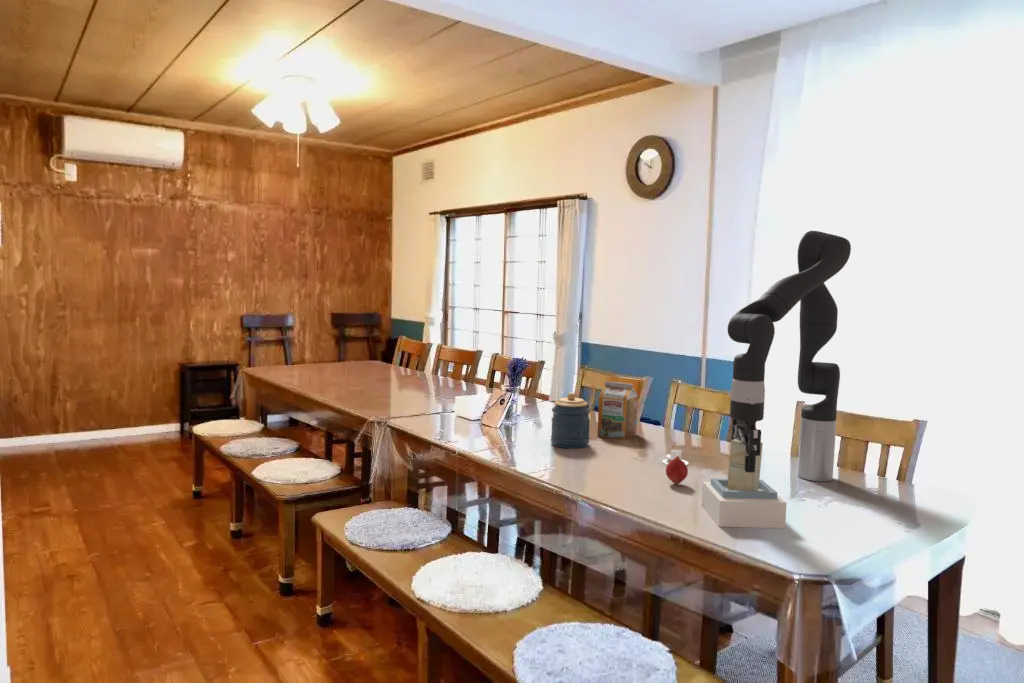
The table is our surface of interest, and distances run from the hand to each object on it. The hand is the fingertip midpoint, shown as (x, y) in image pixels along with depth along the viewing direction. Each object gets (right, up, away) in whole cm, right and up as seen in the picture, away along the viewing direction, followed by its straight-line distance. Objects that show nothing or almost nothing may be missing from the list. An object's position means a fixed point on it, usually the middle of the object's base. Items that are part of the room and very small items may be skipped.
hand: (744, 467), depth 164 cm
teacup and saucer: (-2, -8, +51) cm, 52 cm away
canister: (-35, -5, +70) cm, 79 cm away
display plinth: (0, -12, +1) cm, 12 cm away
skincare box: (0, -6, +1) cm, 6 cm away
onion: (-10, -10, +26) cm, 29 cm away
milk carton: (-17, -4, +86) cm, 88 cm away
